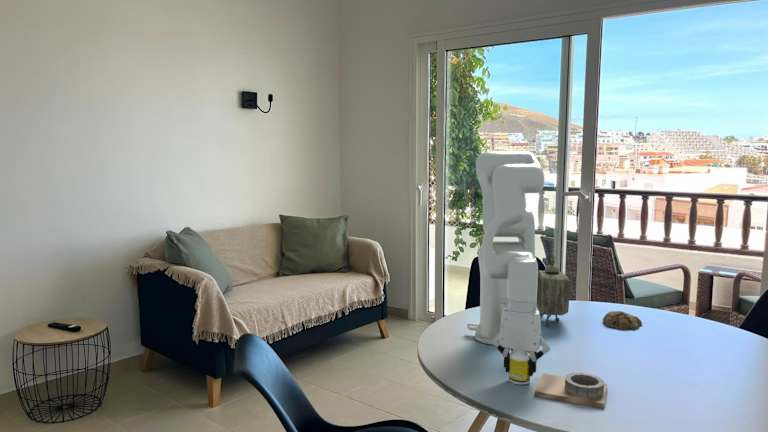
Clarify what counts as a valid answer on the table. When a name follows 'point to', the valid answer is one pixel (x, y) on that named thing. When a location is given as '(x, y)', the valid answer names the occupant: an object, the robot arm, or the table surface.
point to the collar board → (561, 394)
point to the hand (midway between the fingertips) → (519, 371)
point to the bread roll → (621, 320)
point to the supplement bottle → (519, 367)
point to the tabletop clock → (552, 292)
